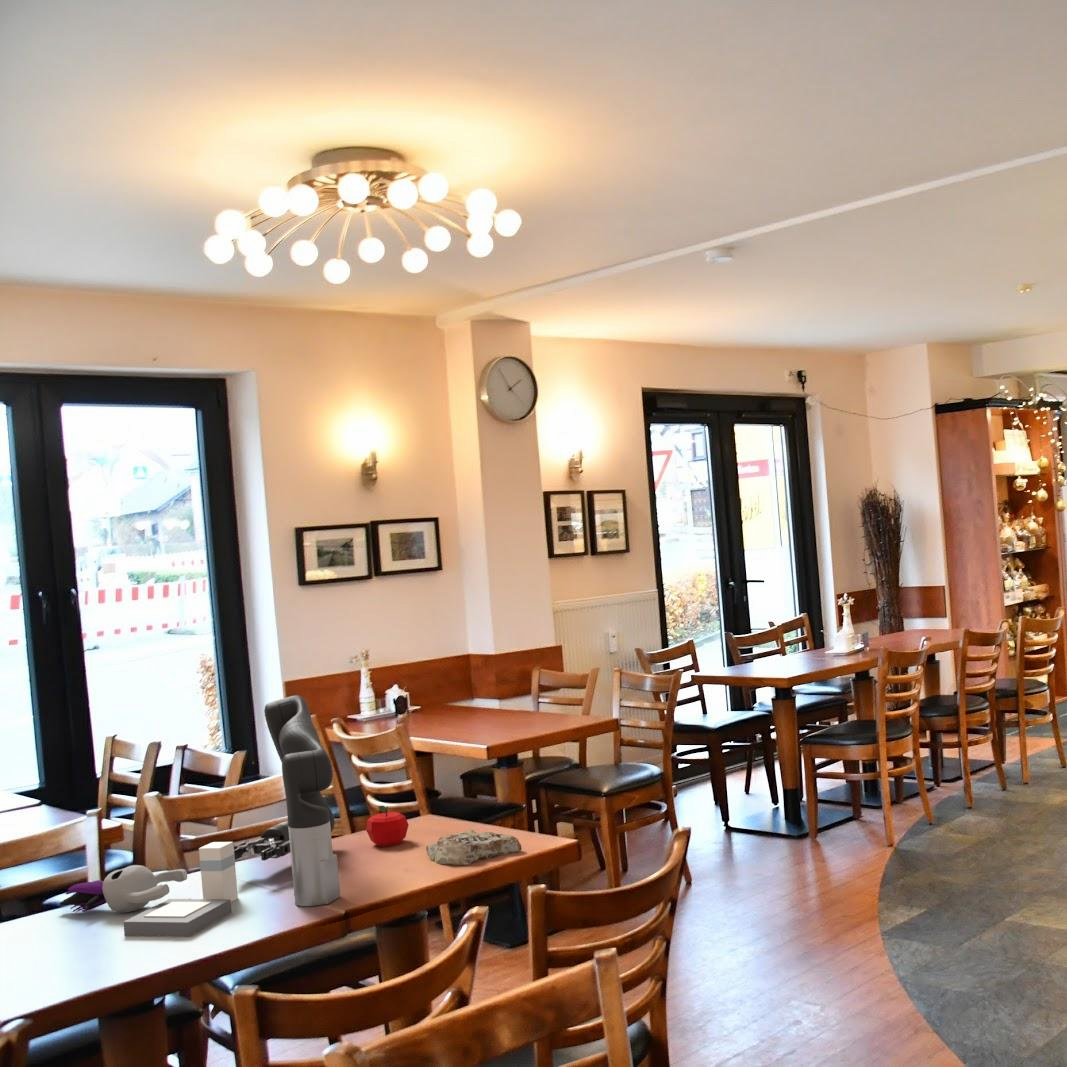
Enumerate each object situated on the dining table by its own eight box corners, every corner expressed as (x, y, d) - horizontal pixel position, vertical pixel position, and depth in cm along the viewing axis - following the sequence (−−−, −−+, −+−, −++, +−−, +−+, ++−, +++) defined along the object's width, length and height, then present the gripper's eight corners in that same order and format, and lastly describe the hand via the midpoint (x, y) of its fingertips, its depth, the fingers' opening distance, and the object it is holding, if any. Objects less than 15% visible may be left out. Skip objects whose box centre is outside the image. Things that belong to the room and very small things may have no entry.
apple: (417, 840, 317) (413, 803, 317) (385, 850, 309) (382, 811, 310) (391, 837, 324) (388, 800, 325) (360, 846, 317) (356, 808, 317)
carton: (238, 898, 276) (233, 841, 276) (224, 905, 271) (219, 848, 271) (217, 898, 278) (212, 842, 278) (203, 905, 273) (198, 848, 273)
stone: (458, 848, 283) (401, 833, 303) (460, 873, 283) (403, 856, 303) (522, 832, 295) (463, 818, 315) (523, 855, 295) (464, 840, 315)
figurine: (75, 872, 285) (186, 845, 279) (86, 911, 286) (198, 885, 280) (35, 897, 270) (152, 869, 264) (47, 938, 270) (165, 912, 264)
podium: (231, 912, 264) (230, 897, 264) (188, 936, 249) (187, 921, 249) (170, 912, 269) (169, 897, 269) (124, 935, 254) (123, 920, 254)
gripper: (256, 824, 304) (219, 840, 288) (305, 823, 299) (271, 840, 284) (258, 854, 304) (222, 872, 288) (308, 853, 299) (274, 872, 284)
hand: (247, 856), depth 286 cm, fingers open, 8 cm apart
